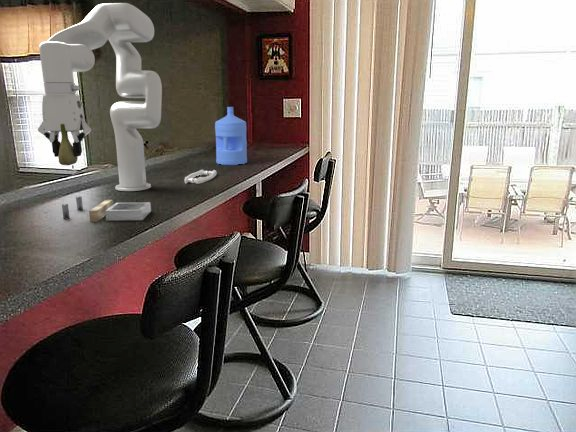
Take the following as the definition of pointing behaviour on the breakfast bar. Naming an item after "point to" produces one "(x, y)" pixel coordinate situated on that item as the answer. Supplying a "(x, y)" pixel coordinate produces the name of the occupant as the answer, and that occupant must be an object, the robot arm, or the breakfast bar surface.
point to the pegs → (66, 209)
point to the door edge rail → (99, 210)
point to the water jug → (231, 140)
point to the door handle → (200, 180)
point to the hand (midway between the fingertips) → (67, 155)
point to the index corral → (128, 211)
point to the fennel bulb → (66, 149)
